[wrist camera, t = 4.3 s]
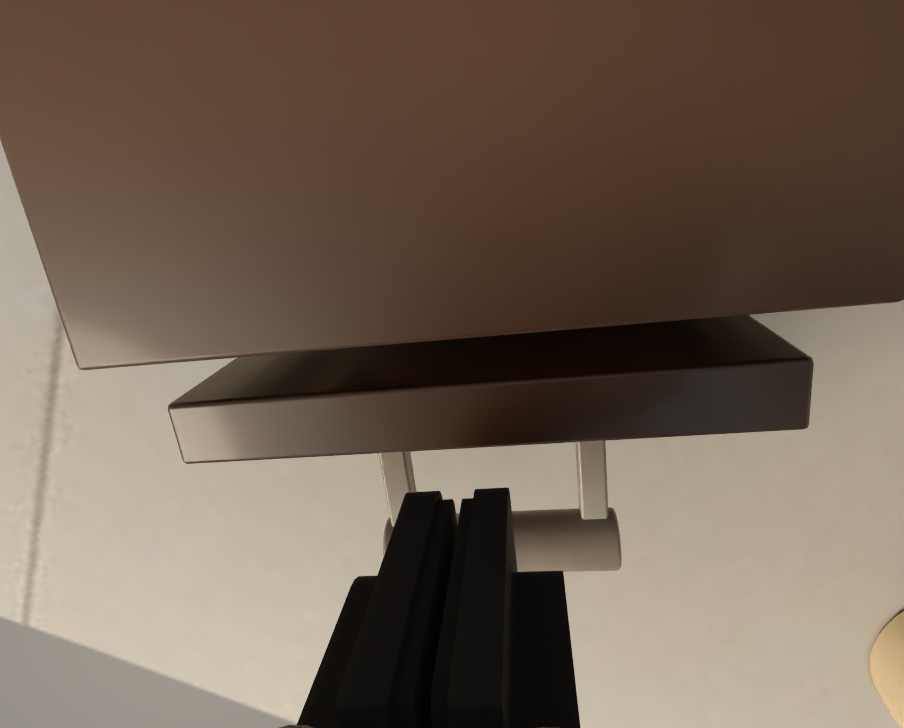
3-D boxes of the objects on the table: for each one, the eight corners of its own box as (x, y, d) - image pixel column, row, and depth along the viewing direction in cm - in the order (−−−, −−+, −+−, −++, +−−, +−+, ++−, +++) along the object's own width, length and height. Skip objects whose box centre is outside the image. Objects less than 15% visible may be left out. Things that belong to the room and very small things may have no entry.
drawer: (688, 474, 17) (792, 667, 11) (340, 490, 19) (241, 668, 12) (697, -363, 11) (931, -1068, 5) (191, -238, 13) (-147, -646, 6)
